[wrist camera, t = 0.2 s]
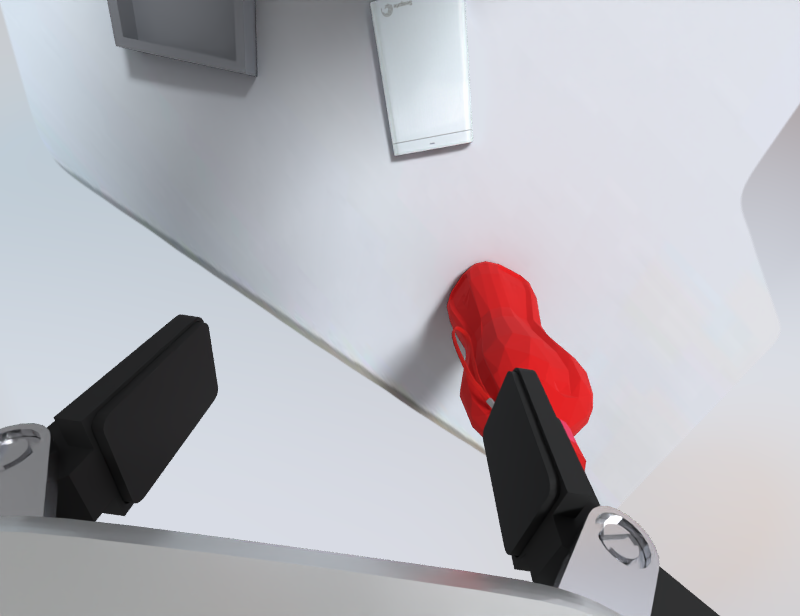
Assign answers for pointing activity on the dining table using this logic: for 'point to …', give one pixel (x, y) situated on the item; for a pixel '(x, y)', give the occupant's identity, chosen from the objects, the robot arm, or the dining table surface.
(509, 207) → the dining table surface
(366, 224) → the dining table surface
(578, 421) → the water bottle
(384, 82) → the hard drive
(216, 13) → the gray square tray
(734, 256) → the dining table surface
